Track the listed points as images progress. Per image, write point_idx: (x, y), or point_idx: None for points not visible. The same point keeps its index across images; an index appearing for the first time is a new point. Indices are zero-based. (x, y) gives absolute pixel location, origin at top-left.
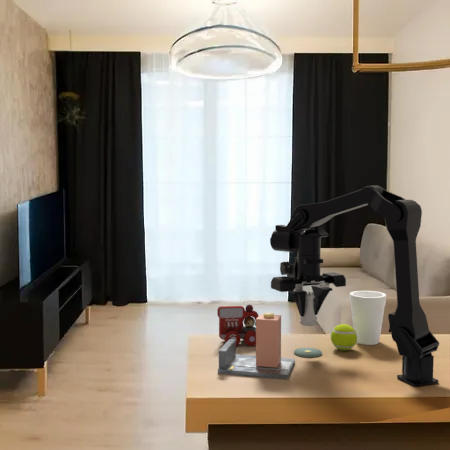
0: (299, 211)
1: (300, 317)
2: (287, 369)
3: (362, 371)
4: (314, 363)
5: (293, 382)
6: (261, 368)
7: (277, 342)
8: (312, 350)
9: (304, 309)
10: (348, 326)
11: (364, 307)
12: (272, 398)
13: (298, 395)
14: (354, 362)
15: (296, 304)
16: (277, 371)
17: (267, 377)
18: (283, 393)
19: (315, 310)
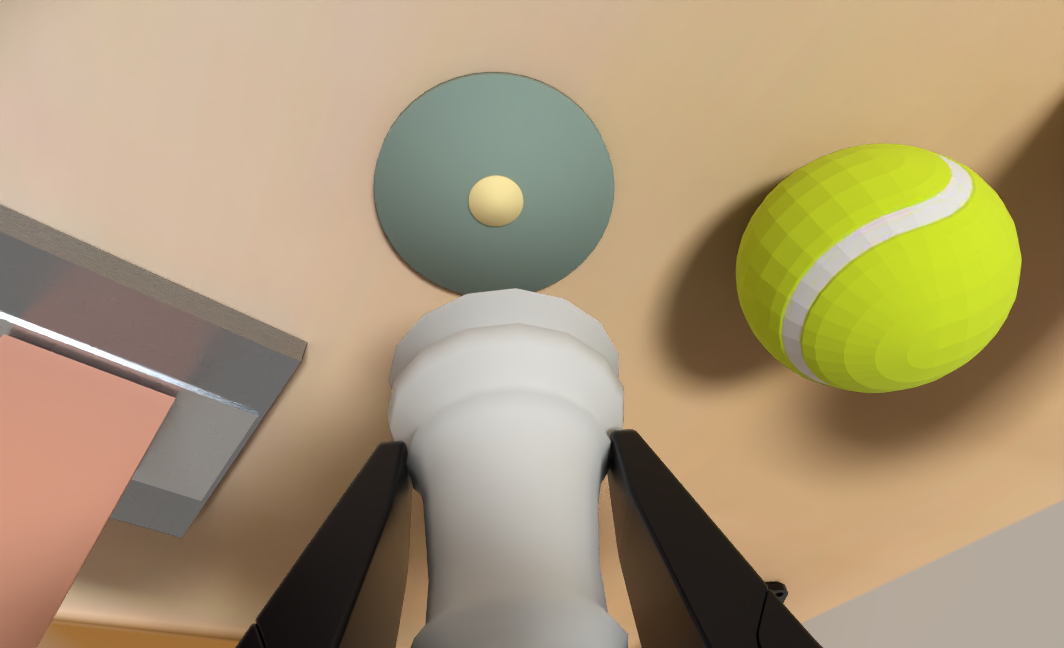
0: None
1: (395, 404)
2: (196, 497)
3: (604, 518)
4: None
5: (216, 544)
6: None
7: (42, 637)
8: (549, 185)
9: (394, 610)
10: (930, 378)
11: None
12: (91, 625)
13: (206, 623)
14: (665, 426)
15: (271, 602)
16: (131, 497)
17: None
18: (145, 606)
19: (616, 527)
